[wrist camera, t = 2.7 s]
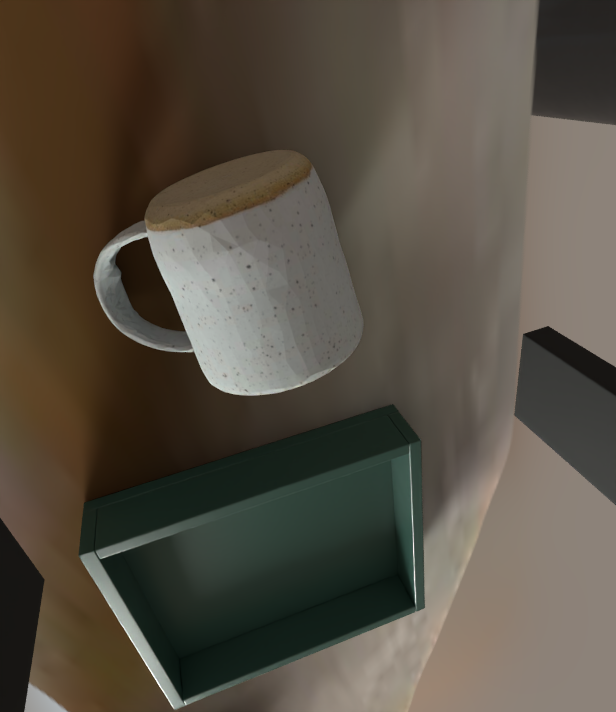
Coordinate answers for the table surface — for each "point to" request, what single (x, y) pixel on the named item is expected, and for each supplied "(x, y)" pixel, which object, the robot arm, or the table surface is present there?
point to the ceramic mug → (245, 275)
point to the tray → (263, 553)
